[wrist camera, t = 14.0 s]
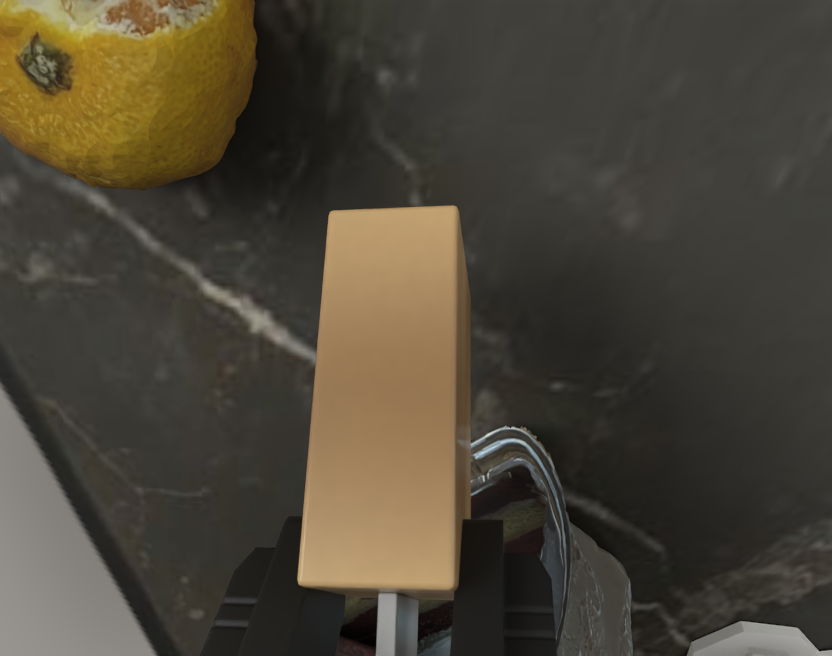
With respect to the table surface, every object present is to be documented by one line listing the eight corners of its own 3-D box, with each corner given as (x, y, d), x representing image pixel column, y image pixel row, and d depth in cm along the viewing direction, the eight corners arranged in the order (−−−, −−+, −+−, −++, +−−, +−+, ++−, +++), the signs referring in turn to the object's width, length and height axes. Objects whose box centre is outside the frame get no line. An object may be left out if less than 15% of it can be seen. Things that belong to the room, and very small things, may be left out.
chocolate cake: (361, 694, 26) (638, 967, 17) (205, 637, 22) (451, 950, 13) (485, 462, 29) (790, 586, 19) (363, 373, 25) (672, 473, 15)
